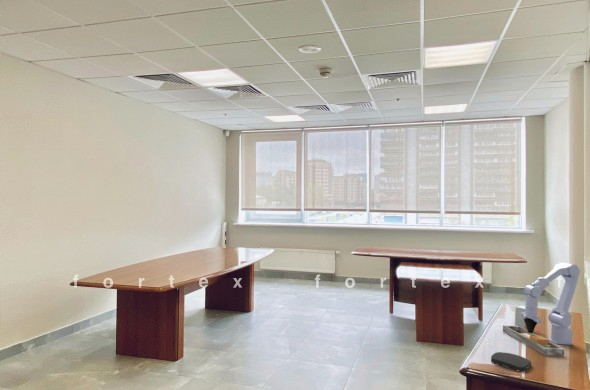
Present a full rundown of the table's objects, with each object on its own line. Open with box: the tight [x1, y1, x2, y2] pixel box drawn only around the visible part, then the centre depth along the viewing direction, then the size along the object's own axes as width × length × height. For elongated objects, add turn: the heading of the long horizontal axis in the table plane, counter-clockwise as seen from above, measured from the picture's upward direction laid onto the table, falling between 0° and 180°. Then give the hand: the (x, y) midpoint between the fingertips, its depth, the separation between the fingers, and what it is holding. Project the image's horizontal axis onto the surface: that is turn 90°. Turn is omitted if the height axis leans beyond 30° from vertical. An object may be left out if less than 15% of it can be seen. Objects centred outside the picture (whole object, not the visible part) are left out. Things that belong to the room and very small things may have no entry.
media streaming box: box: [490, 351, 532, 372], centre depth 183 cm, size 15×15×3 cm
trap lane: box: [502, 324, 565, 357], centre depth 214 cm, size 10×36×4 cm, turn 3°
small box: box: [514, 305, 527, 330], centre depth 240 cm, size 8×6×13 cm
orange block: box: [530, 335, 549, 346], centre depth 208 cm, size 6×6×3 cm
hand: (530, 332), depth 215 cm, fingers closed
